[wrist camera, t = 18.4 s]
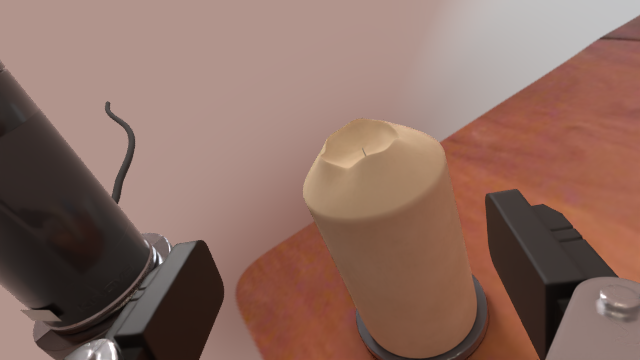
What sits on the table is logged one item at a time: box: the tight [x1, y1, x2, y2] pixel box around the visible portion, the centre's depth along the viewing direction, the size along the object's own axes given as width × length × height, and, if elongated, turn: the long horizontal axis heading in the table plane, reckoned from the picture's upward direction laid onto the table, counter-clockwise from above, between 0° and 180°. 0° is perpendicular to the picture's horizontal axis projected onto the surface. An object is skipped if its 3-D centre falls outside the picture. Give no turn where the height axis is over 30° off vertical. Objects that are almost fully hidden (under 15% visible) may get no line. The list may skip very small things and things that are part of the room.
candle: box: [303, 118, 477, 358], centre depth 17 cm, size 6×6×10 cm
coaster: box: [356, 274, 489, 360], centre depth 20 cm, size 6×6×1 cm
